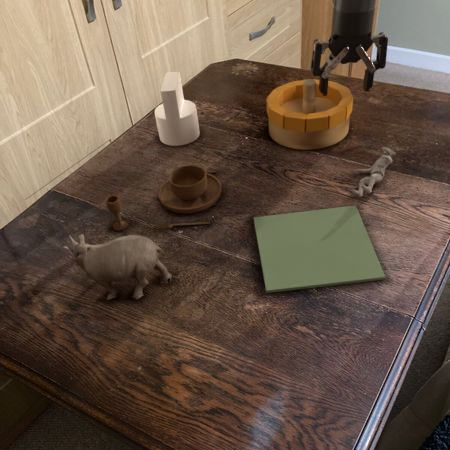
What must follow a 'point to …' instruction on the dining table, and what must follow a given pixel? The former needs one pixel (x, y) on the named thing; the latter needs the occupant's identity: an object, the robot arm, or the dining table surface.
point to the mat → (315, 249)
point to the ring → (311, 120)
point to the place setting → (179, 194)
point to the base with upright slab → (176, 113)
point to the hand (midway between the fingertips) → (345, 92)
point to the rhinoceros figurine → (119, 261)
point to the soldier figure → (374, 172)
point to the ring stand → (307, 106)
